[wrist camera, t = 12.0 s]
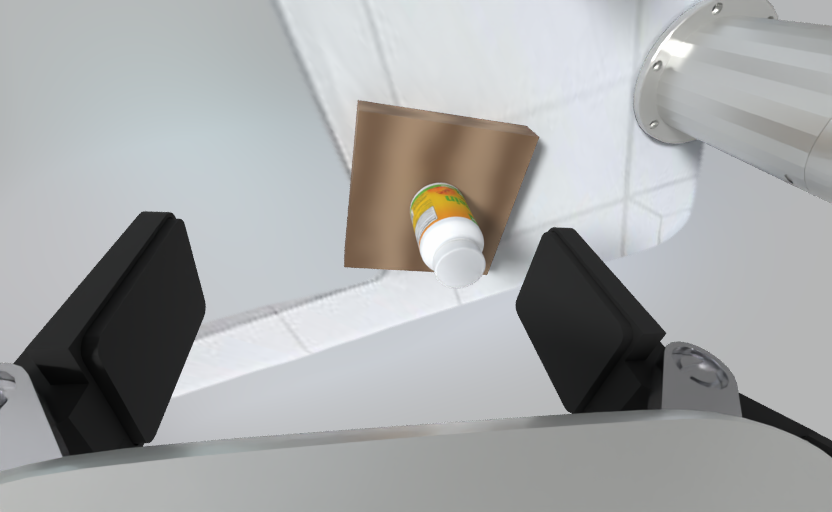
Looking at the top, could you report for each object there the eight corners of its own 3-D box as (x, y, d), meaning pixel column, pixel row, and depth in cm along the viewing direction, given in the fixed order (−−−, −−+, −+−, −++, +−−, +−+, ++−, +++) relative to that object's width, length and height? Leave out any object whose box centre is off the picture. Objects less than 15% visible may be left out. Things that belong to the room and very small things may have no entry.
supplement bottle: (475, 199, 36) (509, 260, 29) (440, 238, 39) (463, 304, 31) (432, 170, 34) (458, 228, 26) (397, 213, 36) (412, 279, 28)
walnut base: (526, 126, 36) (539, 137, 33) (479, 258, 45) (487, 274, 43) (357, 100, 32) (358, 110, 30) (344, 250, 41) (344, 267, 39)
